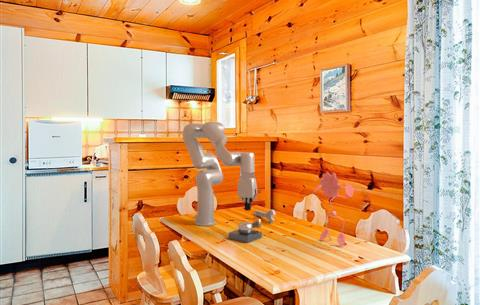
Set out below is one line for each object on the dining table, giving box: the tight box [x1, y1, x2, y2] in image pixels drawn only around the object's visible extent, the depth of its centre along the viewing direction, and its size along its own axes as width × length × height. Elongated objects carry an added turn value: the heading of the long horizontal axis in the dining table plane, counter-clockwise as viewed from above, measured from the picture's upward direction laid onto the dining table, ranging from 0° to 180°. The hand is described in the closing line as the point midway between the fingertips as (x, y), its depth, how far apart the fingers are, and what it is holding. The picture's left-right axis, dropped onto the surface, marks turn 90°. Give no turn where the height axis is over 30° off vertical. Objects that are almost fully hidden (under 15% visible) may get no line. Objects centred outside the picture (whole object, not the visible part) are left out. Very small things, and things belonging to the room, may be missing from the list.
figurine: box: [312, 171, 355, 252], centre depth 171 cm, size 15×26×35 cm, turn 33°
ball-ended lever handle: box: [237, 218, 262, 234], centre depth 185 cm, size 16×7×4 cm, turn 142°
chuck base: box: [228, 229, 263, 244], centre depth 182 cm, size 12×12×3 cm
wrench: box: [253, 209, 277, 224], centre depth 224 cm, size 8×2×30 cm
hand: (247, 210), depth 191 cm, fingers closed
